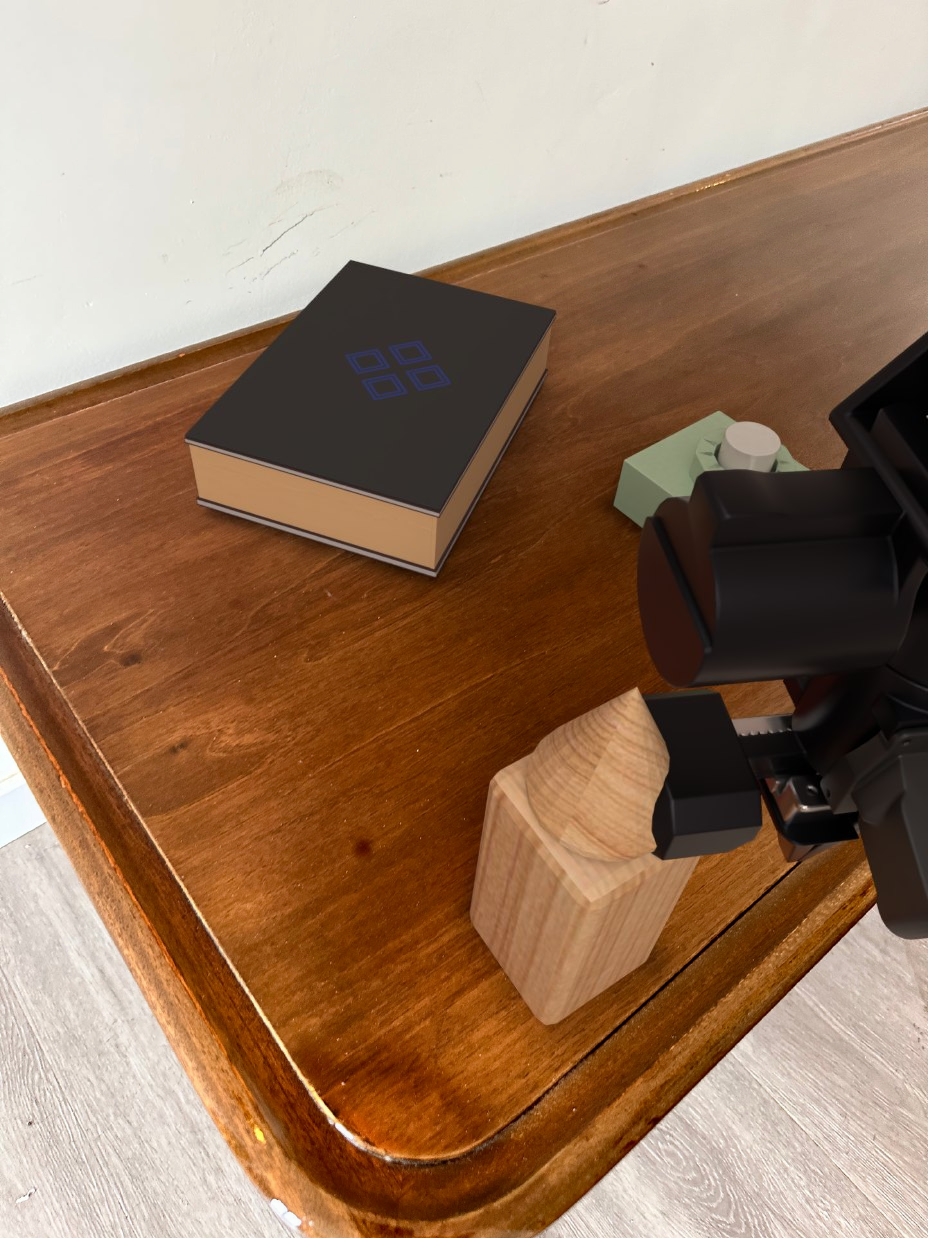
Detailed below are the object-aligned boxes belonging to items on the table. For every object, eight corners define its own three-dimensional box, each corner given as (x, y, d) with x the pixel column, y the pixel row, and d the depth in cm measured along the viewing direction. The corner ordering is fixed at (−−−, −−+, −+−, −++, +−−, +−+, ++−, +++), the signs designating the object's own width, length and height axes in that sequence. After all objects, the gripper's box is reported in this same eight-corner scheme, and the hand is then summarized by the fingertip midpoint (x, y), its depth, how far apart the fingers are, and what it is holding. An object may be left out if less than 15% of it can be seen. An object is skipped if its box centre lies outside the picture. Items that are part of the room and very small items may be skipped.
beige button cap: (782, 466, 63) (792, 442, 61) (748, 487, 61) (757, 462, 60) (740, 439, 65) (749, 414, 63) (706, 458, 63) (714, 433, 62)
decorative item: (569, 853, 49) (649, 589, 34) (653, 960, 46) (782, 717, 31) (463, 917, 47) (500, 661, 32) (543, 1036, 43) (627, 811, 28)
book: (198, 513, 65) (182, 434, 60) (351, 332, 81) (349, 258, 76) (435, 587, 61) (439, 510, 56) (546, 383, 77) (557, 309, 72)
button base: (833, 544, 67) (865, 478, 62) (742, 606, 62) (770, 539, 58) (704, 455, 72) (725, 388, 68) (612, 505, 68) (628, 438, 63)
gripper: (765, 886, 25) (645, 1068, 37) (1358, 809, 28) (1072, 1001, 40) (646, 584, 32) (577, 816, 44) (1126, 547, 35) (942, 774, 47)
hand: (790, 852), depth 43 cm, fingers closed
